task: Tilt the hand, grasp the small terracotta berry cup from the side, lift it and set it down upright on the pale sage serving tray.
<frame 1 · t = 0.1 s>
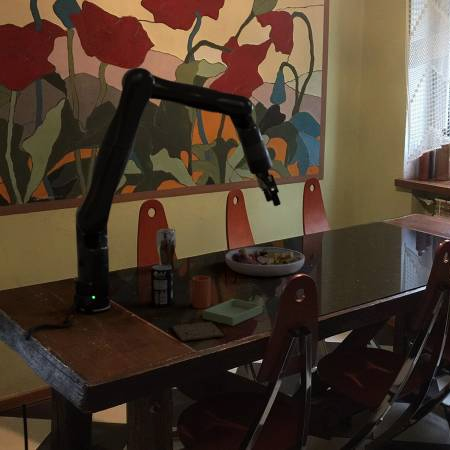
hand: (273, 203, 233), 31 cm above the table, tool tilted 20°, fingers open, 8 cm apart
beer glass: (166, 270, 268), on the table
beverage can: (162, 304, 228), on the table
bowl: (264, 269, 274), on the table
speckled square tile: (197, 332, 203), on the table
tray: (233, 315, 218), on the table
cup: (201, 305, 227), on the table
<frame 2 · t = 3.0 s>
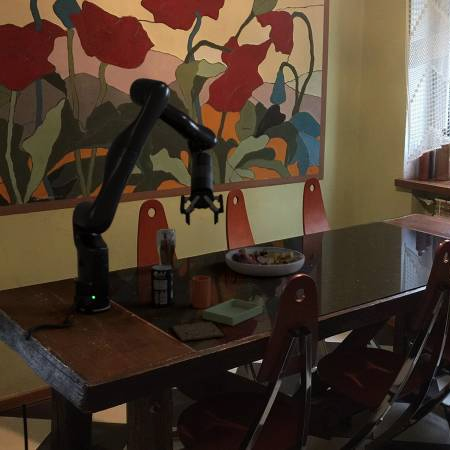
hand: (202, 223, 234), 24 cm above the table, tool tilted 40°, fingers open, 8 cm apart
nothing on the table moved.
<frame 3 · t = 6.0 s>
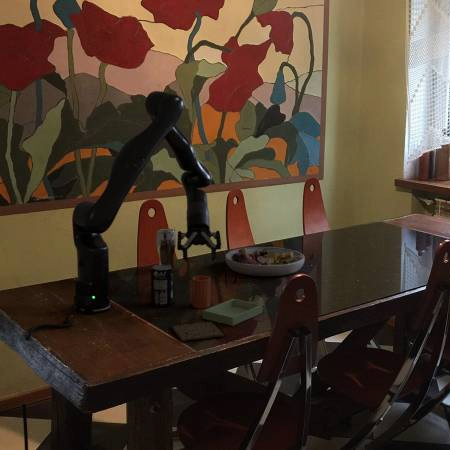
hand: (199, 259, 232), 13 cm above the table, tool tilted 45°, fingers open, 8 cm apart
nothing on the table moved.
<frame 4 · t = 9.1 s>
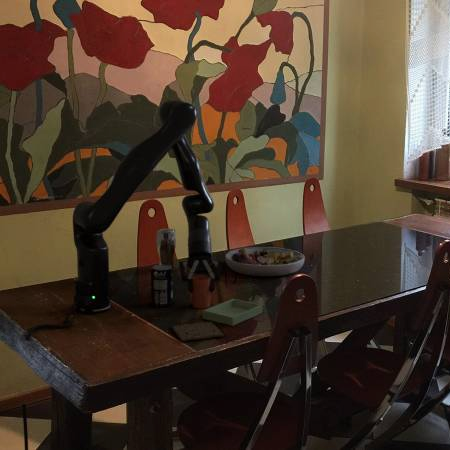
hand: (201, 291, 224), 5 cm above the table, tool tilted 45°, fingers closed on cup, 5 cm apart
cup: (201, 305, 227), on the table, touching gripper
everything else where it was.
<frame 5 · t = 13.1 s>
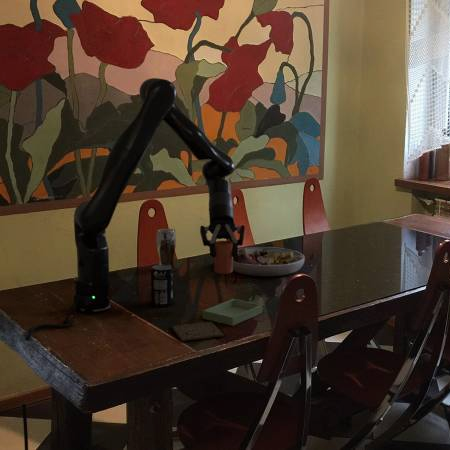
hand: (224, 256, 216), 18 cm above the table, tool tilted 45°, fingers closed on cup, 5 cm apart
cup: (223, 271, 219), point 13 cm above the table, touching gripper
everything else where it was.
when the fingers open (6 cm above the table, at t = 17.5 s): cup stays where it is, resting on tray.
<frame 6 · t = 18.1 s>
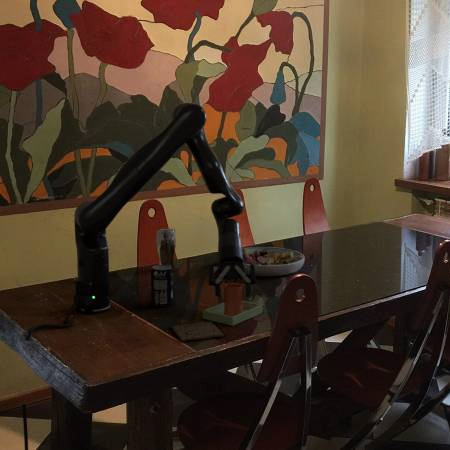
hand: (233, 296, 216), 6 cm above the table, tool tilted 45°, fingers open, 8 cm apart
cup: (233, 313, 218), resting on tray
everything else where it was.
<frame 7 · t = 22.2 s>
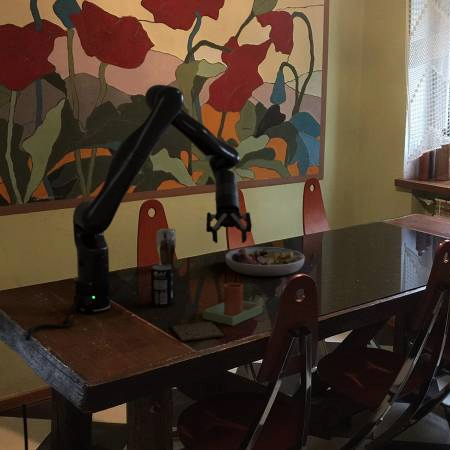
hand: (230, 241, 225), 20 cm above the table, tool tilted 45°, fingers open, 8 cm apart
nothing on the table moved.
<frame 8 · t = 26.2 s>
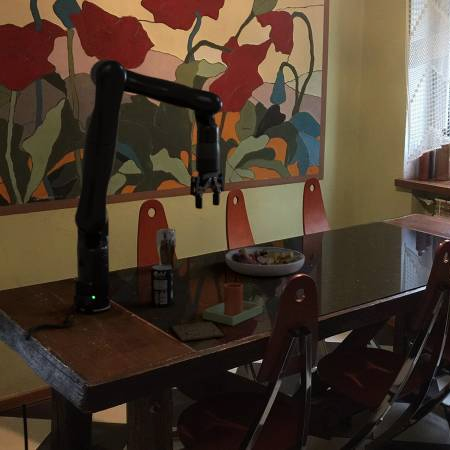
hand: (207, 206, 230), 30 cm above the table, tool pointing down, fingers open, 8 cm apart
nothing on the table moved.
at the end: cup inside the target area in the tray (0.1 cm from its centre), point 0.5 cm above the tray's base; cup tilted 0°; the gripper is holding nothing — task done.
